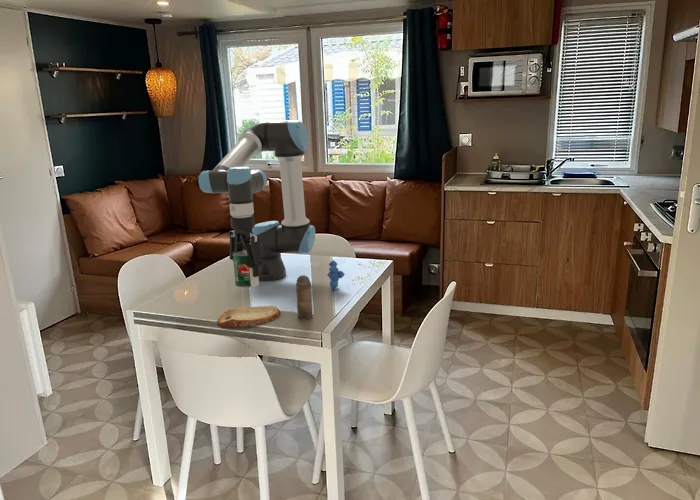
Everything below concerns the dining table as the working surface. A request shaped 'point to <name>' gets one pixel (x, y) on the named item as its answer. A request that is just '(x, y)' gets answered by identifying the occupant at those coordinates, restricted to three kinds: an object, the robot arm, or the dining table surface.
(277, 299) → the dining table surface
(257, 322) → the bread slice
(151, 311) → the dining table surface
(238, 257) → the canned tomato
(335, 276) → the grapes
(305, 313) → the walnut pepper mill
